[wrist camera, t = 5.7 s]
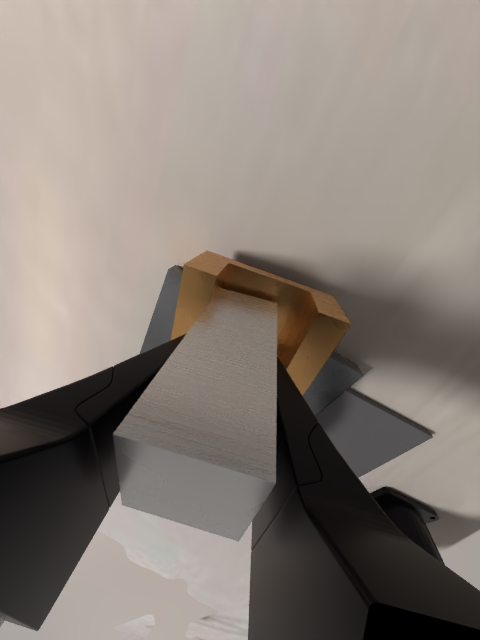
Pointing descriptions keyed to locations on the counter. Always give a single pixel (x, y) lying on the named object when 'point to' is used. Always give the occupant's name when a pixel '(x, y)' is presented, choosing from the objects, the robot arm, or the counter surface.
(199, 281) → the oval metal lid
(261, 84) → the counter surface
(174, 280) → the base plate
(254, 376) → the gray rectangular block
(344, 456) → the mat
